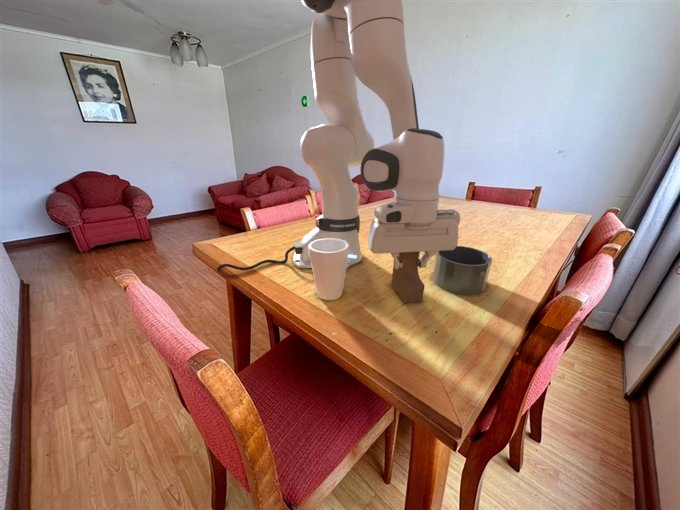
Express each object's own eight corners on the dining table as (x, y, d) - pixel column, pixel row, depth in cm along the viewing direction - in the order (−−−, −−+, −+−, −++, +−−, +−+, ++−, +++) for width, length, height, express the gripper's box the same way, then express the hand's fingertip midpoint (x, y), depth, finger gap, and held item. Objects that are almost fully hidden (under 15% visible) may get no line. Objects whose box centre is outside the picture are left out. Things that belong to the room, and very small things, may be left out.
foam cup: (347, 283, 71) (347, 238, 66) (349, 303, 62) (350, 252, 57) (312, 284, 70) (309, 238, 65) (309, 304, 62) (306, 253, 57)
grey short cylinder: (496, 293, 66) (503, 264, 63) (446, 296, 65) (451, 266, 62) (461, 264, 81) (466, 240, 78) (420, 266, 80) (423, 242, 77)
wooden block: (422, 301, 63) (435, 229, 56) (404, 303, 62) (416, 229, 55) (406, 283, 71) (415, 218, 64) (390, 284, 70) (398, 218, 63)
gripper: (454, 206, 61) (445, 260, 67) (367, 208, 59) (365, 264, 65) (469, 212, 55) (458, 271, 61) (373, 215, 54) (371, 276, 59)
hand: (409, 267), depth 63 cm, fingers closed on wooden block, 4 cm apart
